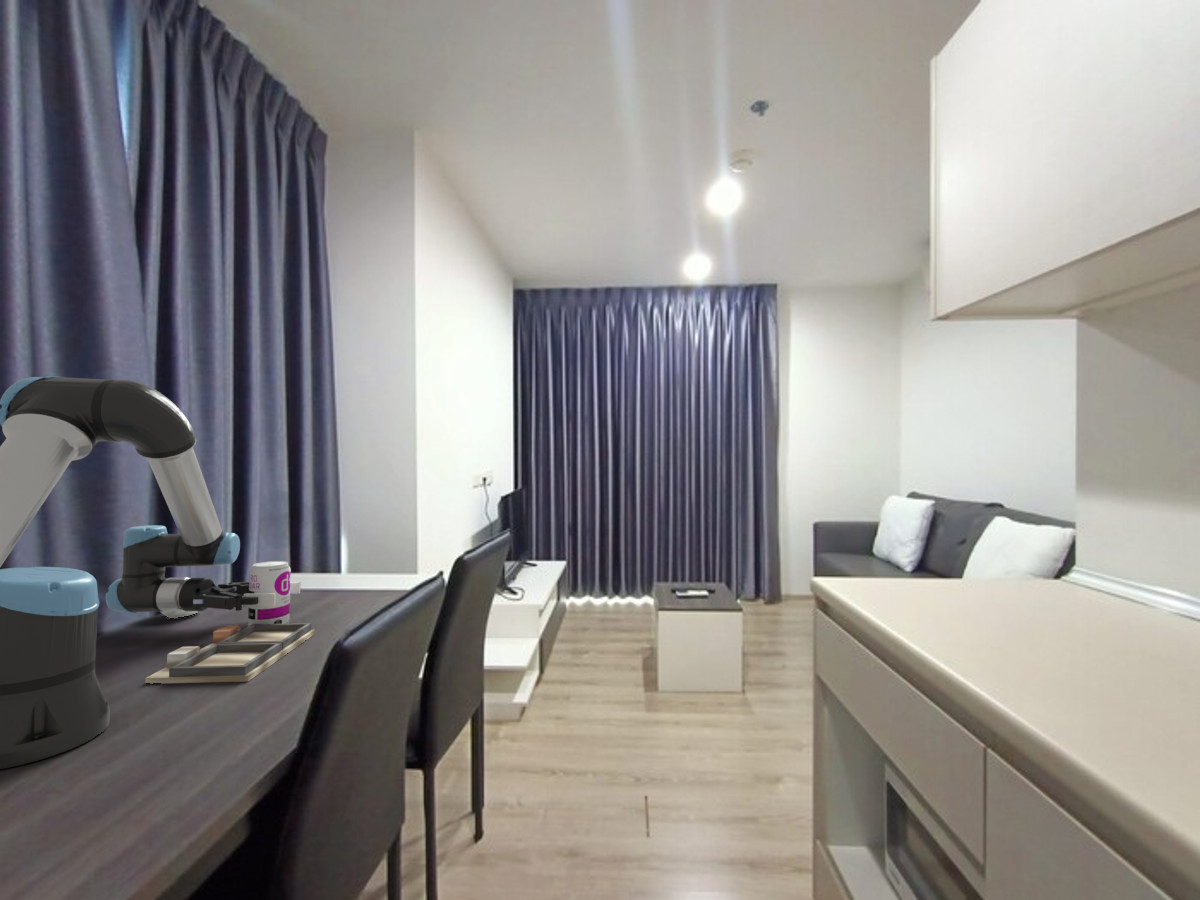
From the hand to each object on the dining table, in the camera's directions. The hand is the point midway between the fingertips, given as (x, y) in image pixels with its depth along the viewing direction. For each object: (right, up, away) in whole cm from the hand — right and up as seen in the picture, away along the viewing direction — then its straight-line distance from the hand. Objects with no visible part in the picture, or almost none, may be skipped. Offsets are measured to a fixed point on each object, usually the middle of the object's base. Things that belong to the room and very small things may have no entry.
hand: (288, 593), depth 123 cm
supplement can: (-4, -8, -1) cm, 9 cm away
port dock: (+1, -7, -18) cm, 20 cm away
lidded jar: (-32, -8, +9) cm, 34 cm away
